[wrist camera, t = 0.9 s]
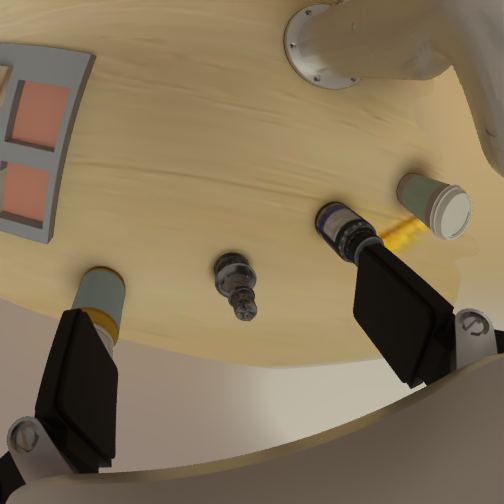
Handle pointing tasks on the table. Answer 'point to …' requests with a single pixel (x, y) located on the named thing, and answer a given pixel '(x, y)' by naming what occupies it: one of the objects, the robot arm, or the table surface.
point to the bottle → (102, 303)
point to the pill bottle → (345, 231)
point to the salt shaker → (236, 284)
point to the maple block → (4, 81)
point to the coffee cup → (436, 205)
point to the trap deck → (37, 133)
